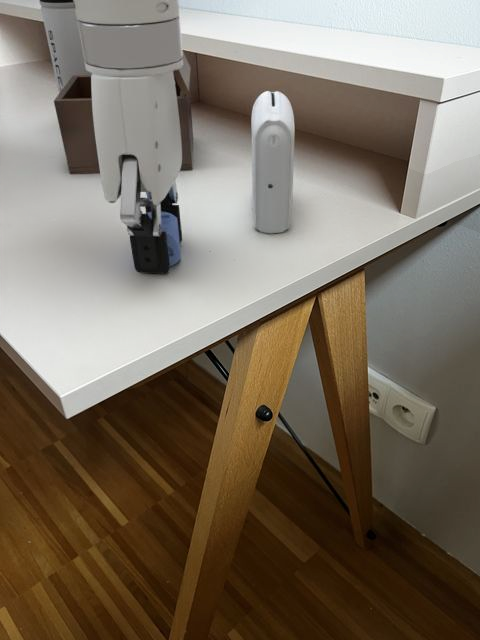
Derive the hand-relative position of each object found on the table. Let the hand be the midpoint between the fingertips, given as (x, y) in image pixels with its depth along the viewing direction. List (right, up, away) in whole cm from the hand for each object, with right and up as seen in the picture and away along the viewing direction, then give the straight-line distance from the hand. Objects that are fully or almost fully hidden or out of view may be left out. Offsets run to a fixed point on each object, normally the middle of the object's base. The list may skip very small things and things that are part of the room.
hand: (159, 254), depth 54 cm
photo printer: (+11, +6, +8) cm, 15 cm away
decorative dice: (0, 0, 0) cm, 1 cm away
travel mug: (-17, +26, +33) cm, 45 cm away
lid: (-3, +31, +13) cm, 34 cm away
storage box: (-8, +18, +23) cm, 30 cm away
